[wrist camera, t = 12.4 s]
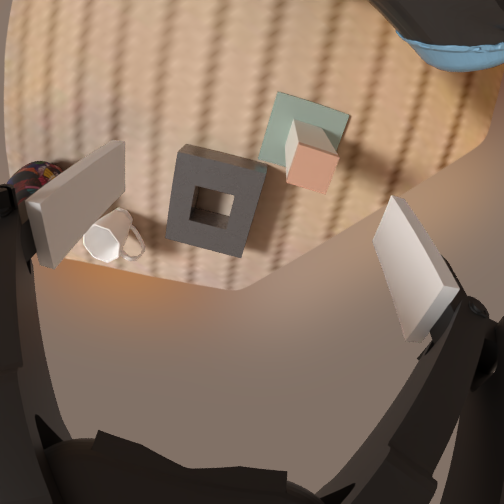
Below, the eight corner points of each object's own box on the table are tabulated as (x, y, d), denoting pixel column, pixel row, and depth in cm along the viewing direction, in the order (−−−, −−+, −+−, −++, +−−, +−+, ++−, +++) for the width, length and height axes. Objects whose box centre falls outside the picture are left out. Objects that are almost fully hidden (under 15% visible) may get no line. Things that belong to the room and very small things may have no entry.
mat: (277, 91, 37) (277, 91, 37) (348, 114, 38) (349, 115, 38) (258, 158, 43) (257, 159, 42) (325, 178, 44) (325, 179, 43)
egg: (27, 159, 45) (-27, 196, 32) (67, 146, 43) (8, 182, 31) (45, 209, 50) (-2, 253, 38) (84, 202, 49) (35, 250, 37)
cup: (114, 192, 48) (91, 215, 41) (161, 228, 51) (143, 255, 44) (98, 219, 51) (76, 244, 44) (141, 252, 54) (124, 281, 47)
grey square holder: (186, 143, 42) (177, 151, 39) (267, 164, 43) (266, 173, 40) (172, 225, 50) (165, 238, 47) (243, 243, 51) (241, 258, 48)
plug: (293, 118, 39) (299, 144, 27) (321, 127, 39) (339, 157, 28) (284, 145, 41) (286, 182, 30) (312, 154, 41) (325, 194, 30)
